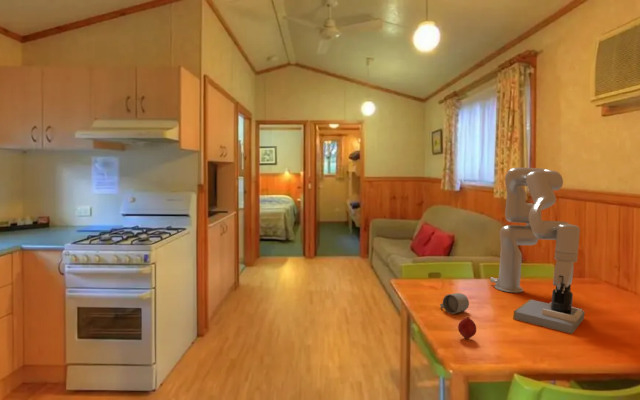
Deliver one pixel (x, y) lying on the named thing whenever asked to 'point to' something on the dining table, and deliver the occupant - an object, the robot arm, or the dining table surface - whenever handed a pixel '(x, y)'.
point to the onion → (467, 328)
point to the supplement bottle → (567, 304)
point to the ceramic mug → (455, 303)
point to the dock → (549, 316)
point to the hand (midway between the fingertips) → (562, 300)
